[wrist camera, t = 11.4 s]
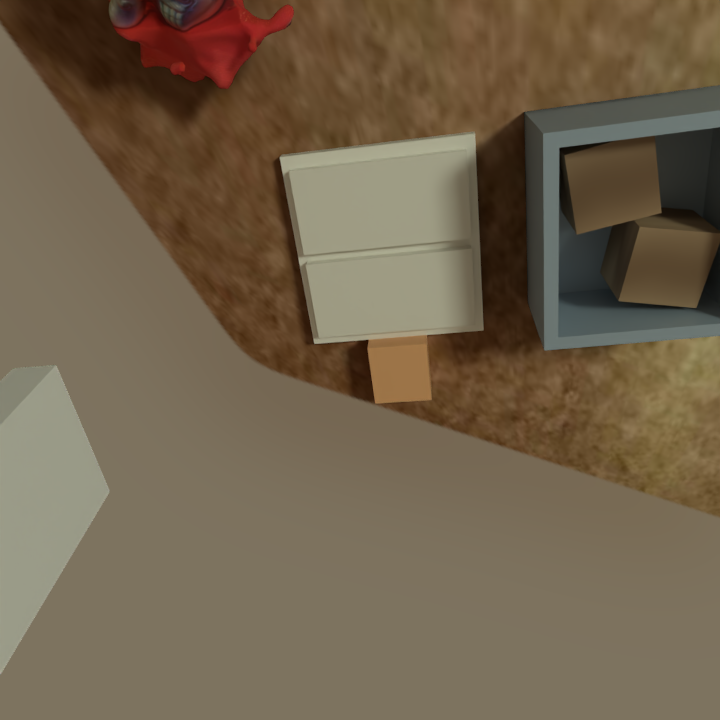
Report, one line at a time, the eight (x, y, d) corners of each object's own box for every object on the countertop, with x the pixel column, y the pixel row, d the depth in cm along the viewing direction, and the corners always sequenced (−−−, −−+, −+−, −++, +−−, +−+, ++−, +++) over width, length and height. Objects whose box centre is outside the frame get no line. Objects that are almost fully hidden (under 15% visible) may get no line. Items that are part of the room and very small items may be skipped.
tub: (524, 112, 33) (543, 133, 28) (728, 84, 32) (787, 101, 27) (527, 302, 39) (544, 350, 34) (703, 286, 37) (748, 333, 32)
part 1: (549, 138, 33) (564, 155, 30) (629, 115, 33) (653, 129, 29) (561, 210, 35) (576, 234, 32) (637, 191, 34) (661, 212, 31)
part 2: (618, 203, 35) (640, 226, 31) (692, 209, 35) (722, 233, 31) (599, 272, 37) (618, 300, 33) (670, 278, 37) (696, 307, 33)
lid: (282, 154, 36) (275, 161, 34) (474, 130, 34) (476, 137, 33) (325, 390, 43) (321, 407, 41) (485, 379, 42) (487, 396, 40)
